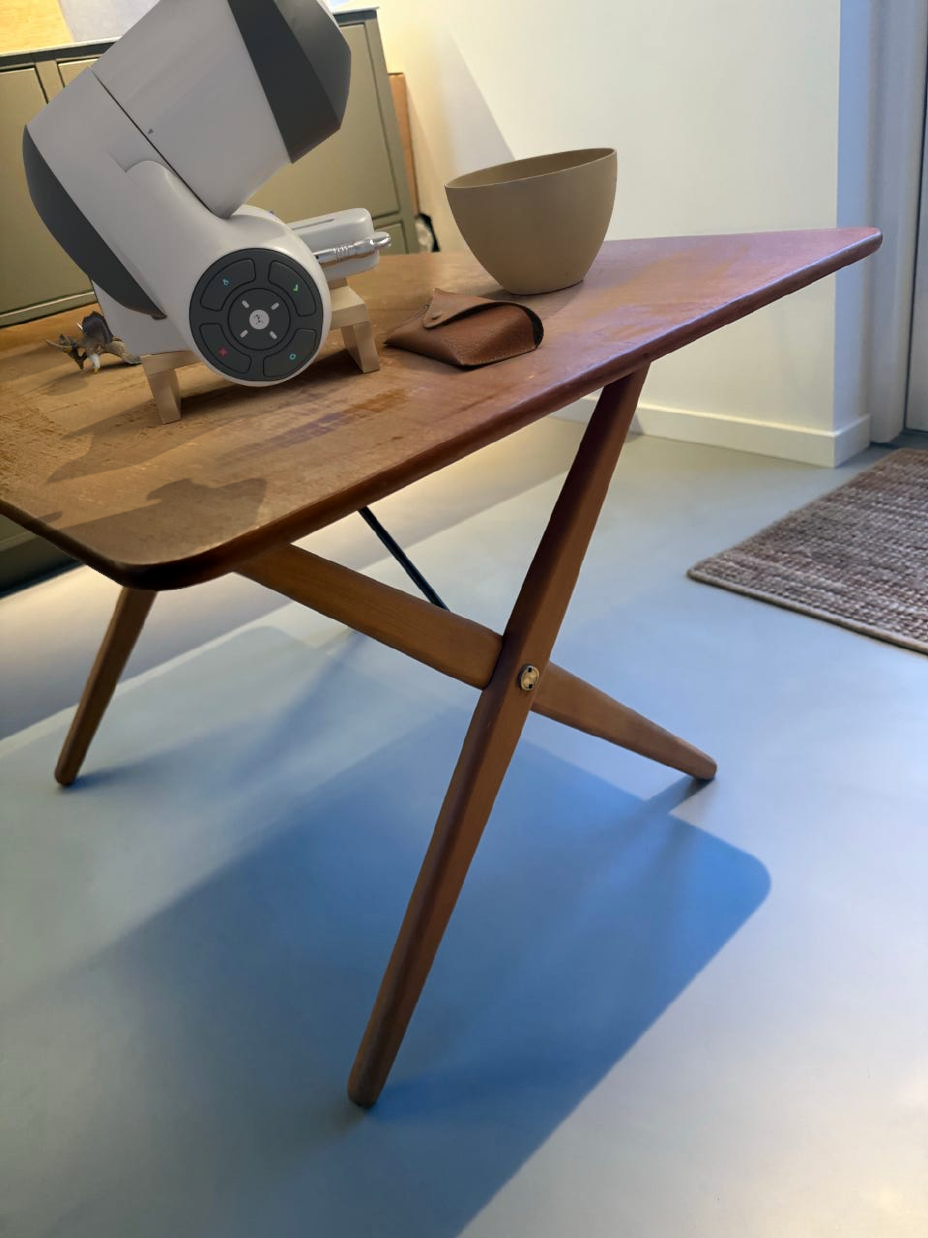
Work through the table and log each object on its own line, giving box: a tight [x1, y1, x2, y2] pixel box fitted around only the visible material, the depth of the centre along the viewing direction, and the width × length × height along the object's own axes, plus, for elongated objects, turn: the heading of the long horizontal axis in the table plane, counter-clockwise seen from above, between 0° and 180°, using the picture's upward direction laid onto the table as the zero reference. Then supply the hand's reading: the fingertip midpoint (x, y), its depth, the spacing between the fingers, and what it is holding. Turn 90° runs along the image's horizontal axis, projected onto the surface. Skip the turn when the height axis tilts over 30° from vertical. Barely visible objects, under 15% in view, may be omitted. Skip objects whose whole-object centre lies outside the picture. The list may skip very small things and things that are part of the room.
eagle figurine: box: [44, 310, 142, 374], centre depth 114 cm, size 8×7×9 cm
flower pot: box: [443, 147, 618, 296], centre depth 106 cm, size 18×18×12 cm
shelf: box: [140, 277, 381, 425], centre depth 92 cm, size 20×12×9 cm, turn 104°
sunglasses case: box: [382, 287, 545, 367], centre depth 92 cm, size 18×7×7 cm
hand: (234, 254), depth 77 cm, fingers open, 8 cm apart
